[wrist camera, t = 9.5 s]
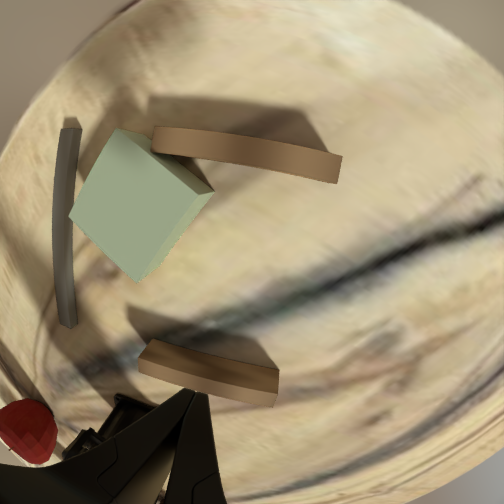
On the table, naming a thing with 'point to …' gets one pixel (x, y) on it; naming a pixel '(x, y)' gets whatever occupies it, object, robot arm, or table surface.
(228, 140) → the set of wooden bars
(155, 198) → the sage block
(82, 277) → the table surface
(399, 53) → the table surface
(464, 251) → the table surface
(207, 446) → the robot arm
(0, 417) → the apple
